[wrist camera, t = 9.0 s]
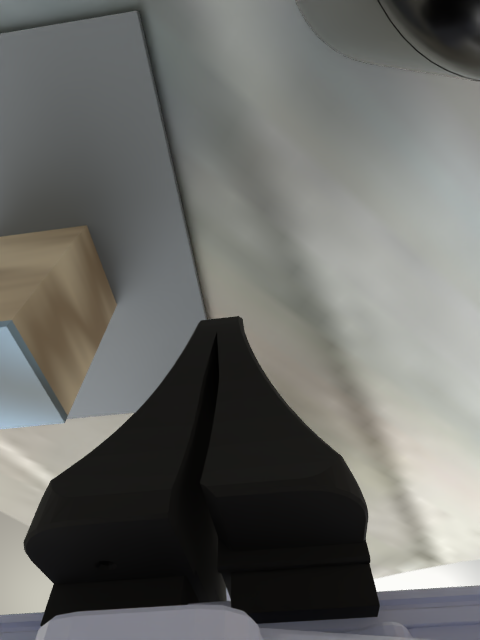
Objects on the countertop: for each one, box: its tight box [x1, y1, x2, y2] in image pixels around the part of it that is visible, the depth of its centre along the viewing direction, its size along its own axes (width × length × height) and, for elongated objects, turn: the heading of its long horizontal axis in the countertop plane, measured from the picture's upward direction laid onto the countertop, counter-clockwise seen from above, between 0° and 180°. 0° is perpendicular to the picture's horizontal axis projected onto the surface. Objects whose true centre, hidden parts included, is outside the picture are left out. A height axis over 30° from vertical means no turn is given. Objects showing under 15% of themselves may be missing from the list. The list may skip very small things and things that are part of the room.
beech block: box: [0, 225, 117, 429], centre depth 15 cm, size 4×4×7 cm
